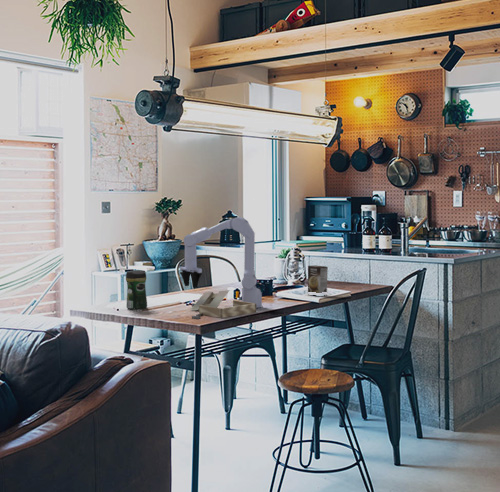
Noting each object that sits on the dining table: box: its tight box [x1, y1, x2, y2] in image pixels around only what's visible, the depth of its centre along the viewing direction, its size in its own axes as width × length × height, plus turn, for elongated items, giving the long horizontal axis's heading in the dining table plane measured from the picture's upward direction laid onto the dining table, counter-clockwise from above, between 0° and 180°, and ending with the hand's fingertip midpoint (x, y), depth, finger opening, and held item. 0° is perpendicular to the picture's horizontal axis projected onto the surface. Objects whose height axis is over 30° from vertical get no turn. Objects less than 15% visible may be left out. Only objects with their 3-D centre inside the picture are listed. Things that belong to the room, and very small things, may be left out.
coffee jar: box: [125, 269, 148, 310], centre depth 332 cm, size 10×8×19 cm
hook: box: [191, 313, 204, 320], centre depth 308 cm, size 10×3×1 cm, turn 157°
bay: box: [198, 299, 257, 319], centre depth 318 cm, size 22×15×4 cm
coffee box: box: [307, 265, 328, 293], centre depth 373 cm, size 9×6×16 cm
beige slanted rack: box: [188, 289, 230, 312], centre depth 328 cm, size 16×9×15 cm
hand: (190, 286), depth 337 cm, fingers open, 6 cm apart
